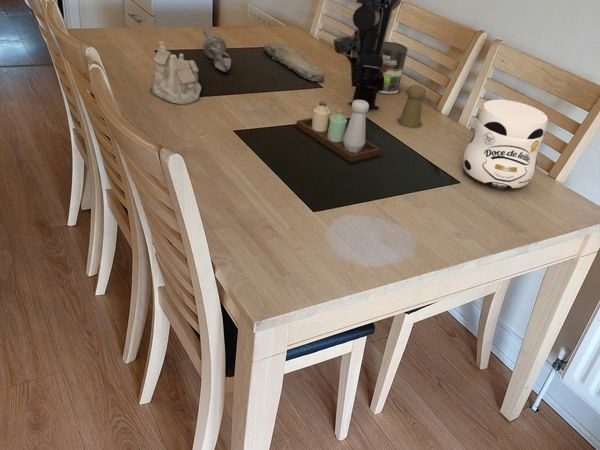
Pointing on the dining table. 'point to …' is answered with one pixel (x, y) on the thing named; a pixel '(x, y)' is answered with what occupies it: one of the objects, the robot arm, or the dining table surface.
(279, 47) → the long grey stone
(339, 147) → the tray
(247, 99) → the dining table surface
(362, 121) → the salt shaker
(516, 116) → the doce de leite jar
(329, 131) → the sage bottle
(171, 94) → the ceramic cottage
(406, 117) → the olive pawn
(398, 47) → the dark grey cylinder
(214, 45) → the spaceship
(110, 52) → the dining table surface
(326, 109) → the cream bottle
